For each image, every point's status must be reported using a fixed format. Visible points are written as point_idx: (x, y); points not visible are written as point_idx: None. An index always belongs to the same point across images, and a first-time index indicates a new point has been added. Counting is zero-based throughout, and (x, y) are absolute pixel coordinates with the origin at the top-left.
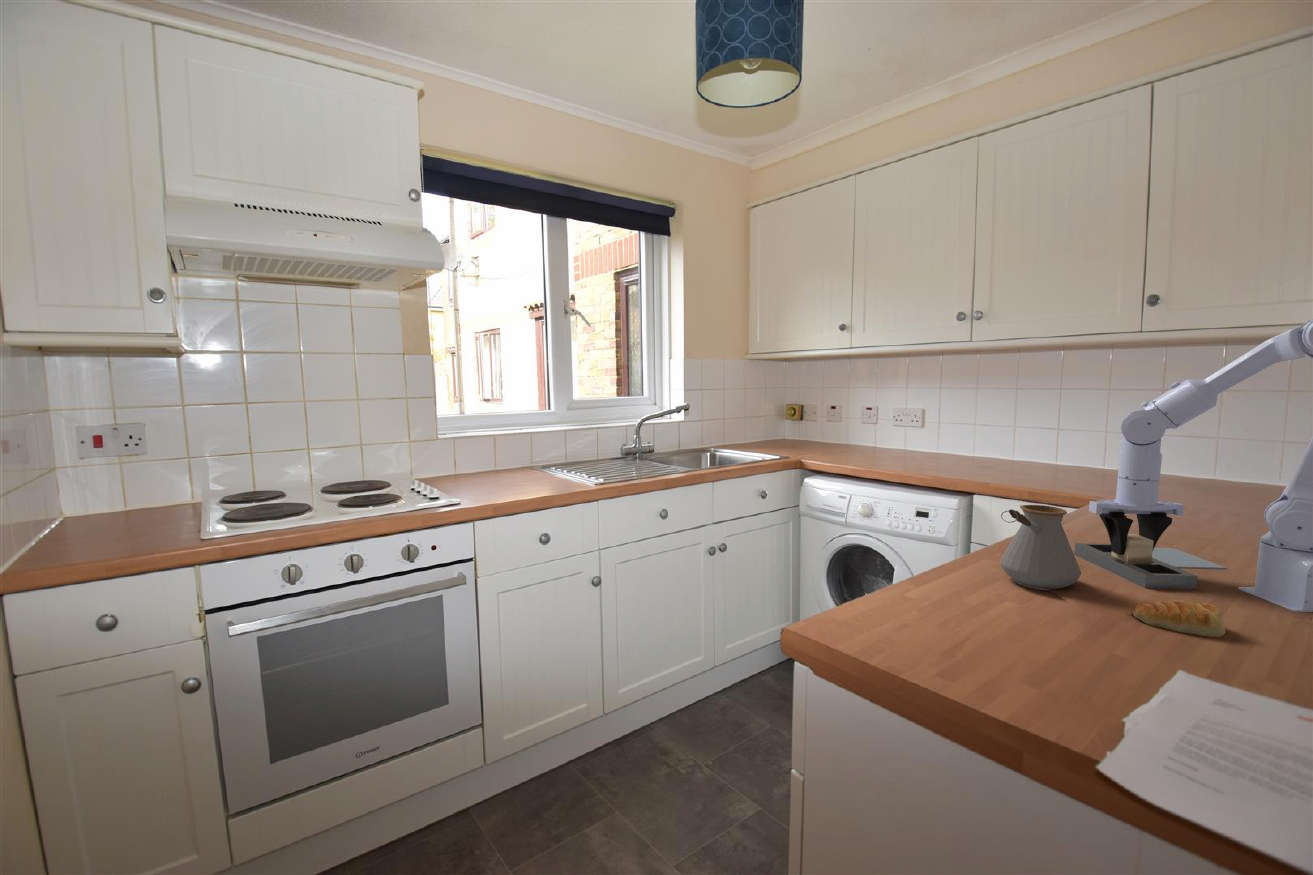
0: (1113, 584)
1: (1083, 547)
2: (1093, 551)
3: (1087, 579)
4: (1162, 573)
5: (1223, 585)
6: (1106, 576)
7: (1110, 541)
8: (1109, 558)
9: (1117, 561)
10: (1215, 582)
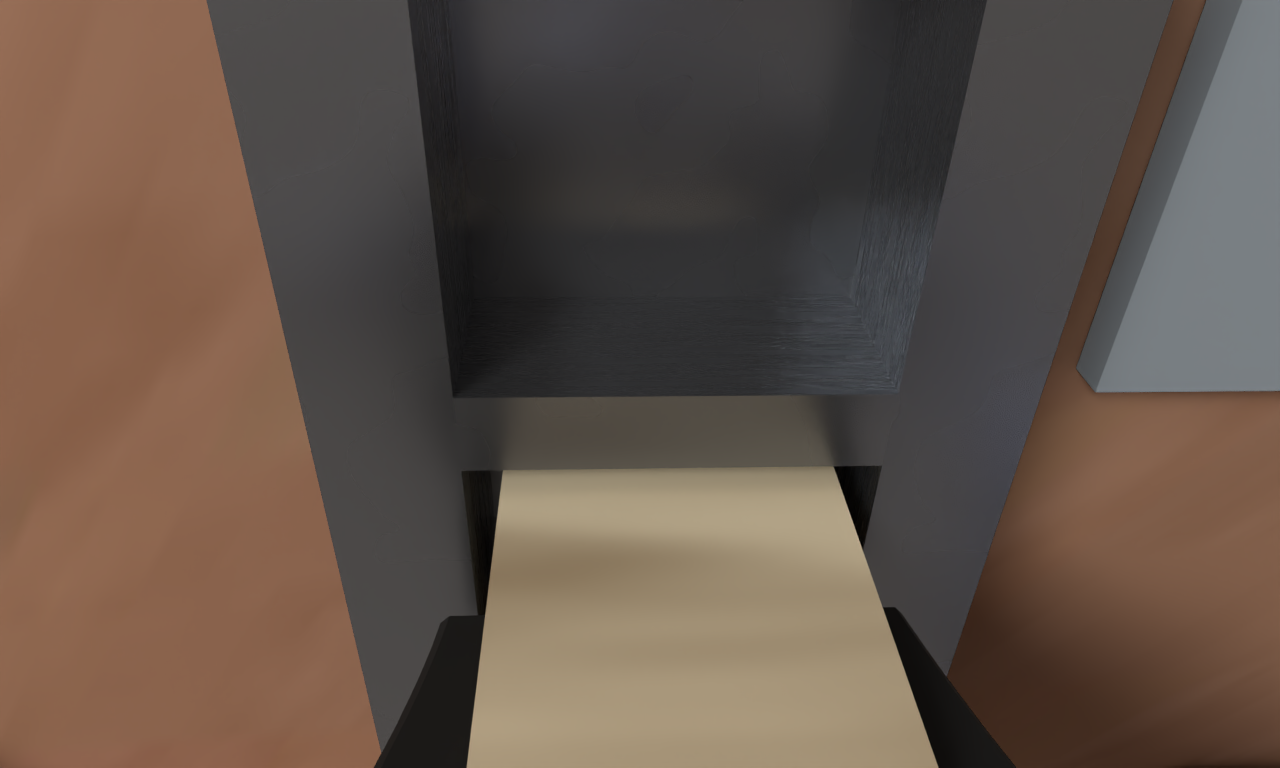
0: (265, 745)
1: (234, 95)
2: (293, 371)
3: (75, 673)
4: None
5: (1207, 695)
6: (310, 596)
7: (390, 739)
8: (360, 638)
9: (393, 719)
10: (1232, 647)
